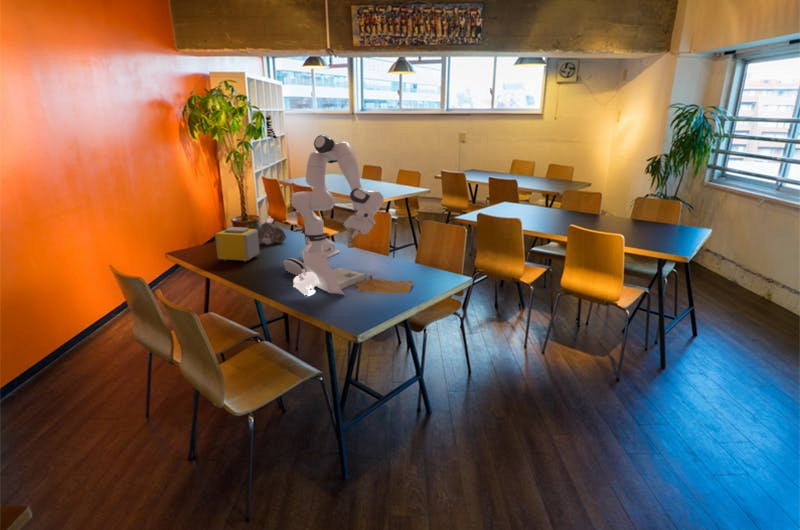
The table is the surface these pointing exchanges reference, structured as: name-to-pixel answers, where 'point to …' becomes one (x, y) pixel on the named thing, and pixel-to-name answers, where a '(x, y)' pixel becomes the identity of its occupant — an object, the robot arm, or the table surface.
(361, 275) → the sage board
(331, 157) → the robot arm
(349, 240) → the beech dowel
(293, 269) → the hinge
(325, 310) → the table surface
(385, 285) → the leather hide
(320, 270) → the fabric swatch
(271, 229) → the rock
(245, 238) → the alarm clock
